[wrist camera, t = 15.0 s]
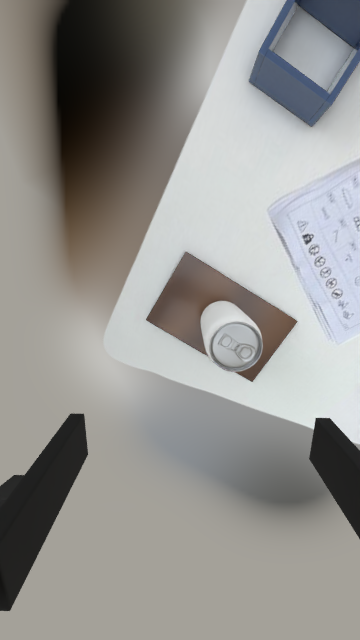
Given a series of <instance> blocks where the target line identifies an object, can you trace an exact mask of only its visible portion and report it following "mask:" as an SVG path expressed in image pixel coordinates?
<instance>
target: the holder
mask: <svg viewBox="0 0 360 640" xmlns="http://www.w3.org/2000/svg"><path fill="white" fill-rule="evenodd" d="M298 5H299V6H301V7H302V8H303V9H304V10H306V11H307V12H308V13H310V14H311V15H312V16H313V17H315V18H316V19H317V20H319V21H320V22H321V23H323V24H324V25H325V26H326V27H328V28H329V29H330V30H332V31H333V32H334V33H335V34H337V35H338V36H339V37H341V38H342V39H343V40H345V41H346V42H347V43H348V44H350V45H351V46H352V47H354V49H353V51H352V52H351V54H350V55H349V57H348V59H347V60H346V62H345V63H344V65H343V67H342V68H341V70H340V71H339V73H338V75H337V76H336V78H335V79H334V81H333V83H332V84H331V86H330V87H329V89H328V91H325V90H324V89H323V88H321V87H320V86H319V85H317V84H316V83H315V82H313V81H312V80H311V79H309V78H308V77H306V76H305V75H304V74H302V73H301V72H300V71H298V70H297V69H296V68H294V67H293V66H292V65H290V64H289V63H288V62H286V61H285V60H284V59H282V58H281V57H280V56H278V55H277V54H275V53H274V52H273V50H274V48H275V46H276V45H277V43H278V41H279V39H280V37H281V36H282V34H283V32H284V30H285V28H286V27H287V25H288V23H289V21H290V19H291V18H292V16H293V14H294V12H295V11H296V9H297V7H298ZM359 61H360V0H287V1H286V3H285V4H284V6H283V8H282V10H281V12H280V14H279V15H278V17H277V19H276V21H275V23H274V25H273V26H272V28H271V30H270V32H269V34H268V36H267V37H266V39H265V41H264V43H263V45H262V47H261V48H260V50H259V52H258V55H257V58H256V61H255V64H254V67H253V70H252V73H251V76H250V79H249V82H250V83H252V84H253V85H254V86H256V87H257V88H259V89H260V90H261V91H263V92H264V93H266V94H267V95H268V96H270V97H271V98H272V99H274V100H275V101H277V102H278V103H279V104H281V105H282V106H284V107H285V108H286V109H288V110H289V111H291V112H292V113H293V114H295V115H296V116H298V117H299V118H300V119H302V120H303V121H304V122H306V123H307V124H309V125H310V126H313V125H314V124H315V123H316V122H317V121H318V120H319V118H320V117H321V116H322V115H323V114H324V113H325V112H326V111H327V110H328V109H329V107H330V106H331V105H332V104H333V102H334V101H335V99H336V97H337V96H338V94H339V93H340V91H341V90H342V88H343V86H344V85H345V83H346V82H347V80H348V79H349V77H350V75H351V74H352V72H353V71H354V69H355V68H356V66H357V64H358V63H359Z"/></svg>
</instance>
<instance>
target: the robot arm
mask: <svg viewBox="0 0 360 640" xmlns="http://www.w3.org/2000/svg"><path fill="white" fill-rule="evenodd" d="M87 455H88V449H87V440H86V430H85V419H84V414H70V415H69V417H68V418H67V419H66V421H65V422H64V423H63V425H62V426H61V427H60V429H59V430H58V431H57V433H56V434H55V435H54V437H53V438H52V439H51V441H50V442H49V443H48V445H47V446H46V447H45V449H44V450H43V451H42V453H41V454H40V455H39V457H38V458H37V459H36V461H35V462H34V463H33V465H32V466H31V468H30V469H29V470H28V471H27V473H26V474H25V475H14V476H12V477H11V478H10V479H9V480H7V481H6V482H5V483H4V484H3V485H1V486H0V611H10V610H11V608H12V605H13V603H14V601H15V599H16V597H17V596H18V594H19V592H20V589H21V588H22V585H23V584H24V582H25V580H26V577H27V575H28V573H29V571H30V570H31V567H32V566H33V563H34V561H35V560H36V558H37V555H38V553H39V551H40V549H41V547H42V545H43V543H44V541H45V539H46V537H47V535H48V533H49V531H50V529H51V527H52V525H53V523H54V521H55V519H56V517H57V515H58V513H59V511H60V509H61V507H62V505H63V503H64V501H65V499H66V497H67V495H68V493H69V491H70V489H71V487H72V485H73V483H74V481H75V479H76V477H77V475H78V473H79V471H80V469H81V467H82V465H83V463H84V461H85V459H86V457H87ZM309 459H310V461H311V462H312V464H313V465H314V467H315V469H316V470H317V472H318V473H319V475H320V476H321V478H322V480H323V481H324V483H325V484H326V486H327V488H328V489H329V491H330V492H331V494H332V496H333V497H334V499H335V500H336V502H337V504H338V505H339V507H340V508H341V510H342V512H343V513H344V515H345V516H346V518H347V519H348V521H349V523H350V524H351V526H352V527H353V529H354V531H355V532H356V534H357V535H358V537H359V538H360V450H358V448H357V447H356V446H355V445H354V444H353V443H352V442H351V441H350V440H349V439H348V437H347V436H346V435H345V434H344V433H343V432H342V431H341V430H340V429H339V428H338V427H337V426H336V424H335V423H334V422H333V421H332V420H331V419H330V418H316V421H315V427H314V433H313V439H312V446H311V452H310V458H309Z"/></svg>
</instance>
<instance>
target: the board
mask: <svg viewBox="0 0 360 640" xmlns="http://www.w3.org/2000/svg"><path fill="white" fill-rule="evenodd" d="M217 301H228V302H231V303H233V304H234V305H236V306H237V307H238V308H239V309H240V310H242V311H243V312H244V313H245V314H246V315H247V316H248V317H249V318H250V319H251V320H252V321H253V322H254V323H255V324H256V325H257V326H258V328H259V330H260V332H261V335H262V342H263V349H262V353H261V356H260V358H259V360H258V361H257V362H256V363H255V364H254V365H253V366H252V367H250V368H248V369H246V370H244V371H239V372H236V373H238V374H239V375H241V376H243V377H245V378H246V379H248V380H250V381H251V382H253V380H254V379H255V378H256V376H257V375H258V374H259V372H260V371H261V370H262V368H263V367H264V366H265V364H266V363H267V362H268V360H269V359H270V358H271V356H272V355H273V354H274V352H275V351H276V350H277V348H278V347H279V345H280V344H281V343H282V341H283V340H284V339H285V337H286V336H287V335H288V333H289V332H290V331H291V329H292V328H293V327H294V325H295V324H296V323H297V321H296V320H295V319H293V318H292V317H290V316H288V315H287V314H285V313H284V312H282V311H280V310H279V309H277V308H276V307H274V306H272V305H271V304H269V303H268V302H266V301H264V300H263V299H261V298H260V297H258V296H256V295H255V294H253V293H252V292H250V291H248V290H247V289H245V288H244V287H242V286H240V285H239V284H237V283H236V282H234V281H232V280H231V279H229V278H228V277H226V276H224V275H223V274H221V273H220V272H218V271H216V270H215V269H213V268H212V267H210V266H208V265H207V264H205V263H204V262H202V261H200V260H199V259H197V258H195V257H194V256H192V255H191V254H189V253H187V252H185V254H184V256H183V257H182V259H181V261H180V262H179V264H178V266H177V268H176V269H175V271H174V273H173V274H172V276H171V278H170V280H169V281H168V283H167V285H166V286H165V288H164V290H163V292H162V293H161V295H160V297H159V298H158V300H157V302H156V304H155V305H154V307H153V309H152V310H151V312H150V314H149V316H148V317H147V319H146V320H147V321H149V322H150V323H152V324H154V325H155V326H157V327H159V328H161V329H162V330H164V331H166V332H167V333H169V334H171V335H173V336H174V337H176V338H178V339H179V340H181V341H183V342H185V343H186V344H188V345H190V346H191V347H193V348H195V349H197V350H198V351H200V352H202V353H203V354H205V355H207V356H208V354H207V352H206V349H205V345H204V340H203V335H202V330H201V323H200V321H201V315H202V313H203V311H204V310H205V308H206V307H207V306H209V305H210V304H212V303H214V302H217Z"/></svg>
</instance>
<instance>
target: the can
mask: <svg viewBox="0 0 360 640" xmlns="http://www.w3.org/2000/svg"><path fill="white" fill-rule="evenodd" d="M200 323H201V330H202V335H203V340H204V345H205V349H206V352H207V354H208V356H209V358H210V359H211V360H212V361H213V362H214V363H215V364H217V365H218V366H219V367H220V368H222V369H224V370H227V371H231V372H239V371H244V370H246V369H248V368H250V367H252V366H253V365H254V364H255V363H256V362H257V361H258V360H259V358H260V356H261V353H262V349H263V342H262V335H261V332H260V330H259V328H258V326H257V325H256V324H255V323H254V322H253V321H252V320H251V319H250V318H249V317H248V316H247V315H246V314H245V313H244V312H243V311H242V310H240V309H239V308H238V307H237V306H236V305H234V304H233V303H231V302H228V301H217V302H214V303H212V304H210V305H209V306H207V307H206V308H205V310H204V311H203V313H202V315H201V321H200Z"/></svg>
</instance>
